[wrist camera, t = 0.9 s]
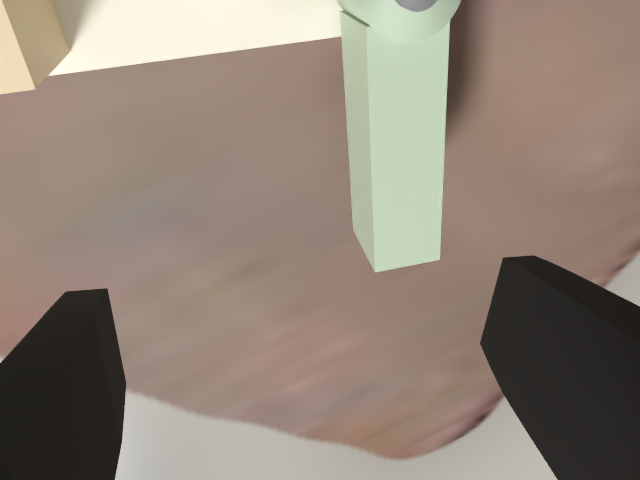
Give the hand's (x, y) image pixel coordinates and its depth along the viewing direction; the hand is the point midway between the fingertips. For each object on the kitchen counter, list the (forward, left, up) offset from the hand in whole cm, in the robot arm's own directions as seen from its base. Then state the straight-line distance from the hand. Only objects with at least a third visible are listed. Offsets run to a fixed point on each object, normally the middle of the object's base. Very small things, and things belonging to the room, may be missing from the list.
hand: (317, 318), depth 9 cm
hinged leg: (+4, +1, -8) cm, 8 cm away
